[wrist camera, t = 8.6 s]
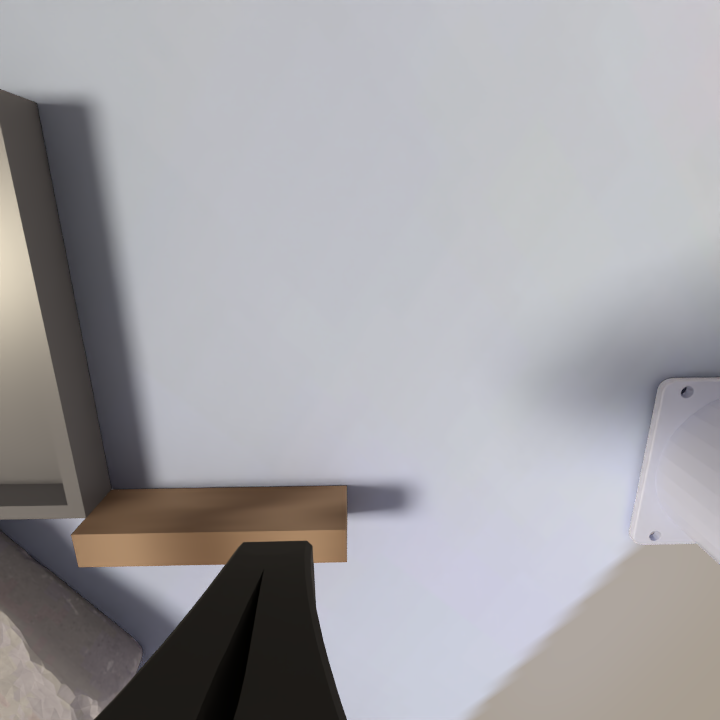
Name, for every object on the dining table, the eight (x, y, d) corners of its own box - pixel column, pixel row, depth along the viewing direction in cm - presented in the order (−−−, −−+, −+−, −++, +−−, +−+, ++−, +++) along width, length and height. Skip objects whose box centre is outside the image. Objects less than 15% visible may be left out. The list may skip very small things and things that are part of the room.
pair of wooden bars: (346, 485, 20) (346, 529, 17) (351, 764, 25) (351, 833, 22) (-87, 492, 20) (-162, 539, 17) (10, 773, 25) (-35, 844, 22)
